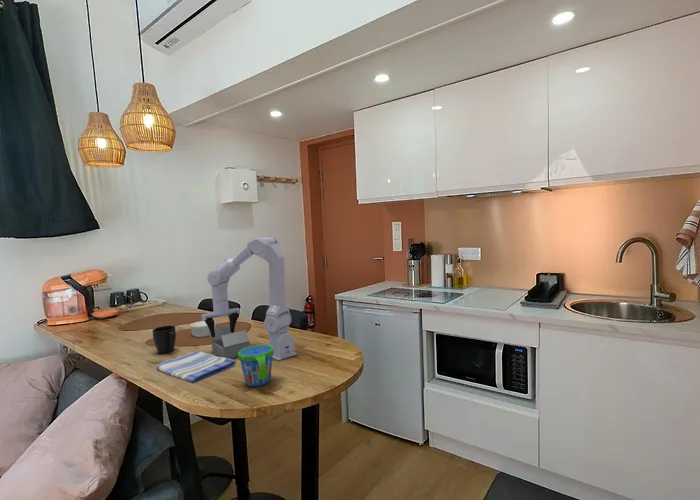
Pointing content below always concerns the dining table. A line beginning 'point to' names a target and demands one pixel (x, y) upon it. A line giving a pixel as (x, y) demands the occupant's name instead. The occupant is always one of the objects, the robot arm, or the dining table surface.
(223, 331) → the far flap
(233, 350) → the carton
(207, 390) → the dining table surface
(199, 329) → the ramekin
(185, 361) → the dish towel
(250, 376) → the snack cup
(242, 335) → the near flap
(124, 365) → the dining table surface
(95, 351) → the dining table surface
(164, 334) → the mug
